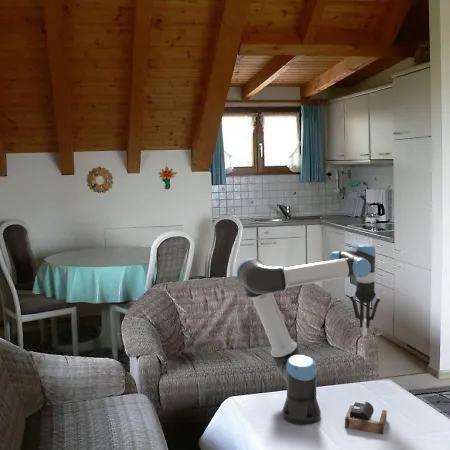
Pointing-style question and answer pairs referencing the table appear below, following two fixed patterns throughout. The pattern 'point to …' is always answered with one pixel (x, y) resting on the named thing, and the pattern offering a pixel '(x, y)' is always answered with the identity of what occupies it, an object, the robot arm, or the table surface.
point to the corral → (365, 423)
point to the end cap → (362, 411)
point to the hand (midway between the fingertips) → (364, 334)
